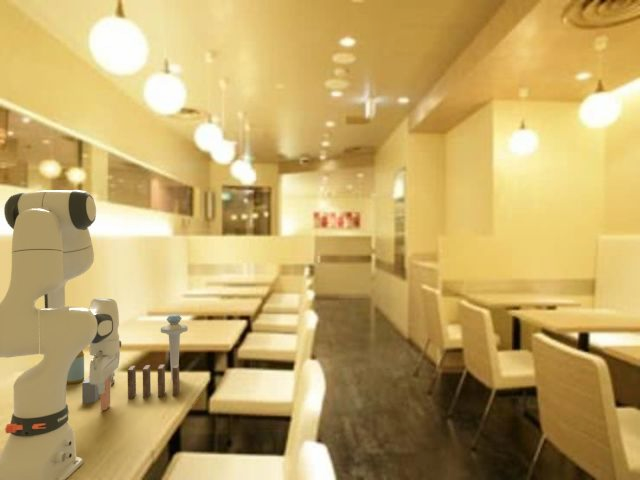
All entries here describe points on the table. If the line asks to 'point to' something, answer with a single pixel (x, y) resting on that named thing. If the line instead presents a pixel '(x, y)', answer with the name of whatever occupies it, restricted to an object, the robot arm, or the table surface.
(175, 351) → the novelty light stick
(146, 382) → the domino
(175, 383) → the domino
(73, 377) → the bottle
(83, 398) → the end block
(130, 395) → the domino
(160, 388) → the domino
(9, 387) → the table surface
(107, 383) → the domino
